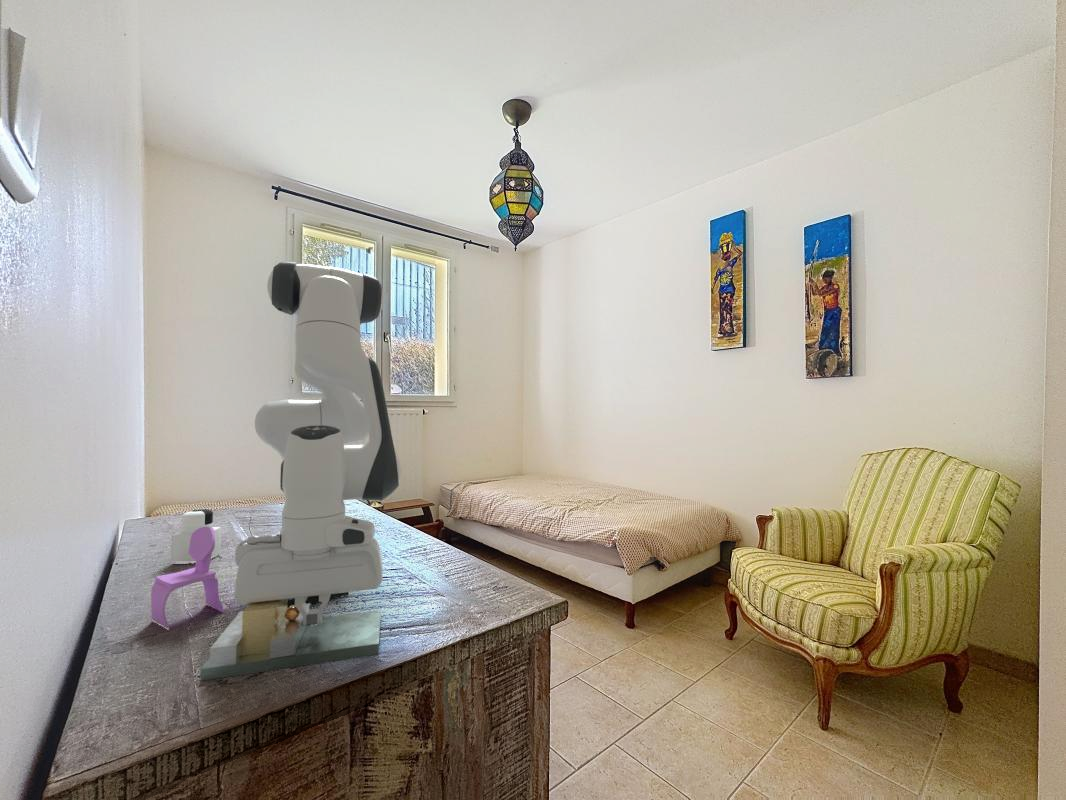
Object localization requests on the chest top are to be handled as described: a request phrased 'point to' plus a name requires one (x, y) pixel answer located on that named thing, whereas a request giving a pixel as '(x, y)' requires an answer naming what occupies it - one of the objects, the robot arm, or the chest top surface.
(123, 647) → the chest top surface
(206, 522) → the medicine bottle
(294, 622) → the sliding jaw
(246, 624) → the brass block
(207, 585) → the toy chair
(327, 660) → the vise
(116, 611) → the chest top surface
